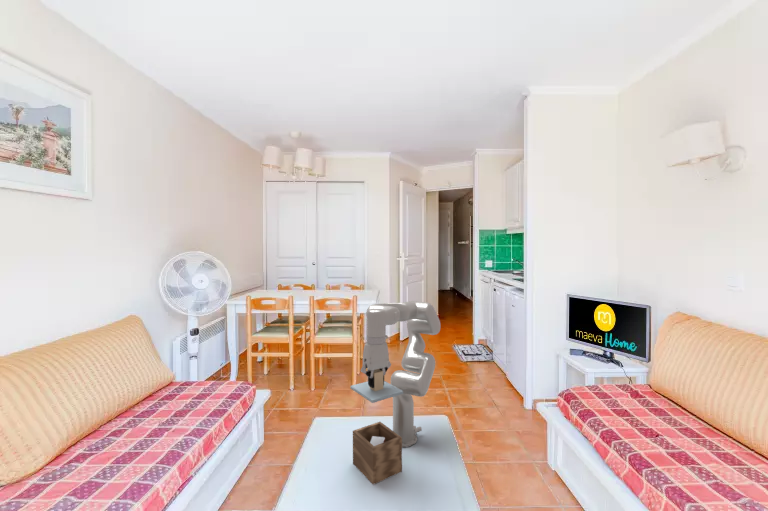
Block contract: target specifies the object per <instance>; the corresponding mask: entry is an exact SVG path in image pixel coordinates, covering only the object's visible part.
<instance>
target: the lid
mask: <svg viewBox="0 0 768 511" xmlns="http://www.w3.org/2000/svg"><path fill="white" fill-rule="evenodd" d="M373 378H374V388H371V387H370V386H369V385H368V381H364V382H360V383H357V384H353V385H350V389H351V390H353V391H354V392H355V393H357V394H358V395H360V396H361V397H363V398H364V399H366V400H367V401H369V402H370V403H372V404H375V403H377V402H380V401H384V400H387V399H390V398H393V397H395V396H397V395H401V394H403V391H402V390H400V389H398V388H397V387H395V386H393V385H391V383H389V382H388V381H385V380H384V385H383V371H381V370H379V369H377V370H374V373H373Z"/></svg>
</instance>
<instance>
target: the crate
mask: <svg viewBox="0 0 768 511" xmlns="http://www.w3.org/2000/svg"><path fill="white" fill-rule="evenodd" d="M372 436H376V437H385V442H384V443H381V444H379V445H376V446H373V445H372V444H371V443H370V441H371V439H372ZM352 465H354V466H355V468H356V469H357V470H359V472H360V473H361V474H362V475H363V476H364V477H365V478H366V479H367V480H368V481H369V482H370V483H371V484H372V485H373V486H374V485H375V484H378V483H380V482H383V481H385V480H386V479H389V478H391V477H393V476H396V475H397V474H400V473H402V472H403V447H402V437H400V436H399V435H398V434H396V433H395V432H394V431H393V429H391V428H390V427H388V426H387V425H385V423H383V422H381V421H377V422H374V423H372V424H368V425H365V426H363V427H360V428H357V429H354V430H352Z"/></svg>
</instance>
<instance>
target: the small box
mask: <svg viewBox="0 0 768 511" xmlns="http://www.w3.org/2000/svg"><path fill="white" fill-rule="evenodd" d="M384 442H385V437H376V436H372V439H371V441H370V443H371V444H372V445H373V446H376V445H379V444H381V443H384Z"/></svg>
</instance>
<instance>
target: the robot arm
mask: <svg viewBox="0 0 768 511" xmlns="http://www.w3.org/2000/svg"><path fill="white" fill-rule="evenodd" d="M365 315H366V343H364V346H363V351H362V367H361V368H360V372H361V373H362V374H364V375H365V376H366V377H367V382H368V385H369V386H370V387H371V388H374V378H373V373H374V370H377V369H379V370H381V371H383V385H384V381H385V376H386V374H387V371H388V369H390V368H391V366H392V363H391V361H390V358H389V354H390V353H389V348H388V343H387V341H386V340H387V339H389V338H388V335H387V333H386V331H387V330H386V329H387V328H386V326H390V325H395V324H397V323H398V322H406V321H407V322H406V328H407V334H408V343H407V345H406V348H405V351H404V353H403V356H402V359H401V367H402V369H403V370H402V369H400V370H399V369H398V370H395V371H394V372H393V373H392V374H391V376H390V384H391V385H393V386H395V387H397V388H398V389H400V390H402V391H403V394H401V395H397V396H395V397H392V431H394V432H395V433H396V434H398V435H399V436H400V437H402V448H409V447H411V446H414V445H415V444H416V443H417V441H418V436H417V435H416V434H417V433H419V432H422V430H423V428H422V427H421V426H416V425H415V424H414V418H415V417H414V416H415V414H414V410H415V409H414V407H415V406H414V404H415V402H414V399H413V396H414V397H420V398H421V397H425V396H426V395H427V392H428V391H429V388H430V385H431V383H432V382H431V381H432V378H433V376H434V372H435V369H436V359H435V357H434V355H433V354H431V353H429V352H425V349H426V342H425V340H424V339H423V336H422V334H424V335H431V336H435V335H438V334H439V333H440V331H441V320H440V318H439V315H438V314H437V311H436V309H435V308H434V306H433V304H432V303H430V302H425V301H413V300H412V301H403V302H390V303H387V302H386V303H373V304H371V305H369V306H368V307H367V310H366V312H365Z"/></svg>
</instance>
